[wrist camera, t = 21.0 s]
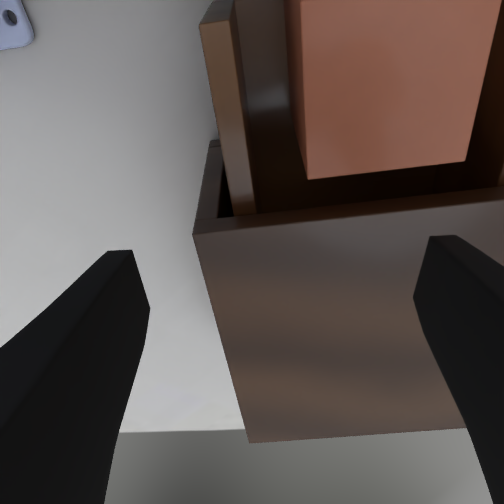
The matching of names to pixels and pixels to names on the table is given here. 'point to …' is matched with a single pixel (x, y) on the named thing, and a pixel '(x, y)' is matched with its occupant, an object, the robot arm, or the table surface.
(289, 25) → the block
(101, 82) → the table surface
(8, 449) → the robot arm
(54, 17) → the table surface
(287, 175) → the drawer
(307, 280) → the cabinet
